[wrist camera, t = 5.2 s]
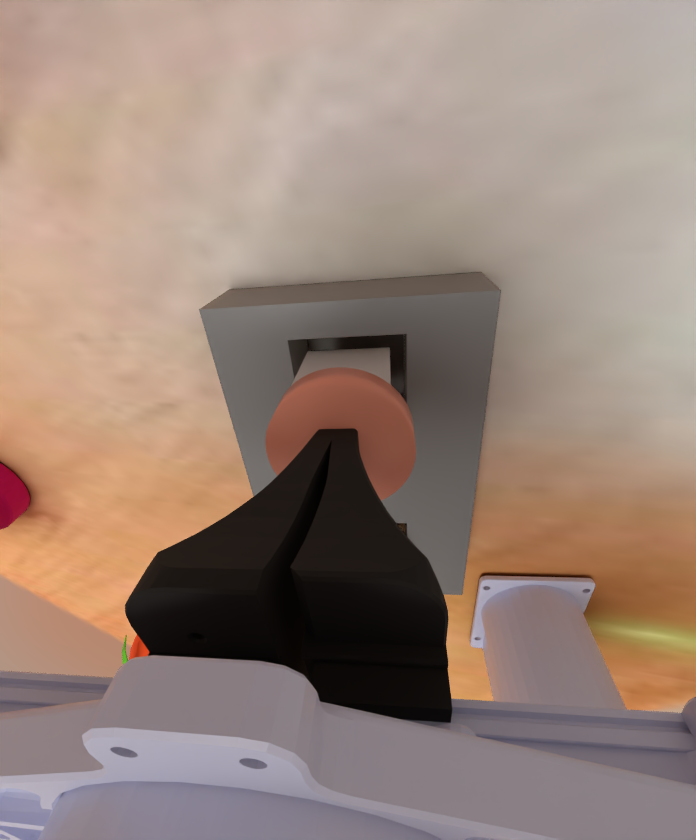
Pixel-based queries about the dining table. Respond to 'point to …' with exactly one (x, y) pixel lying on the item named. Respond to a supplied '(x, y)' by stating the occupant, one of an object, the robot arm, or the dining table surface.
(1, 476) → the pepper mill
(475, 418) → the bar
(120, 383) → the dining table surface
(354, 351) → the plunger red
